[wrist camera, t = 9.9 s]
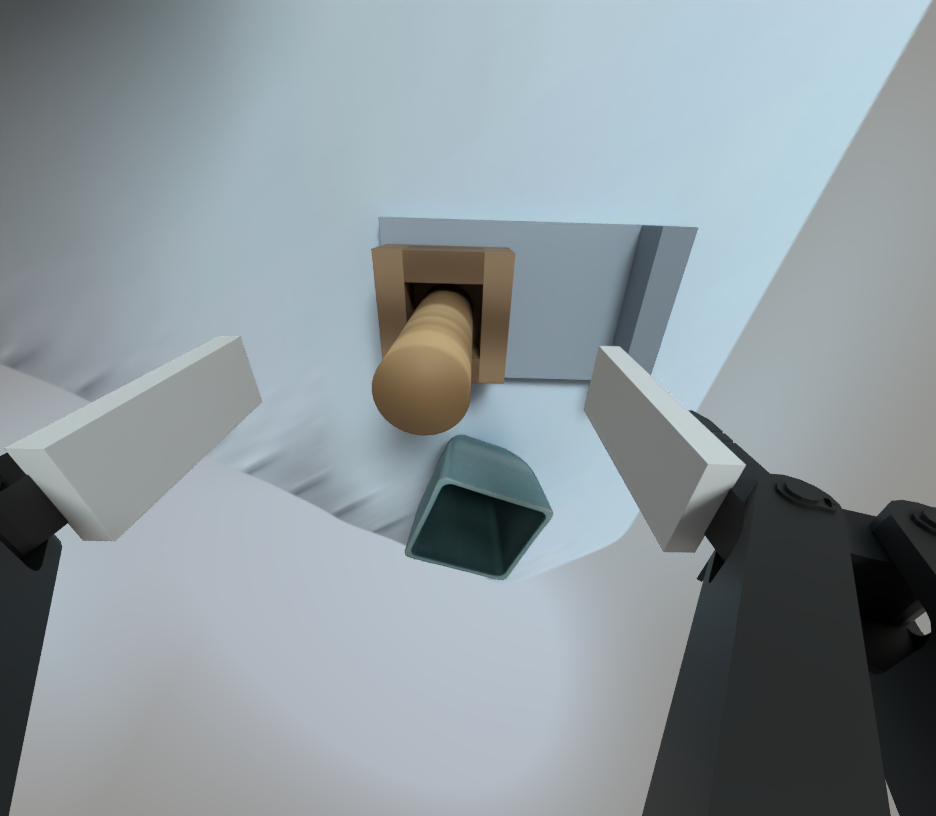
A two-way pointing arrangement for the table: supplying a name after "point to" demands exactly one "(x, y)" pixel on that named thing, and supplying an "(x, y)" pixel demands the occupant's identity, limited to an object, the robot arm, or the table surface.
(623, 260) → the board
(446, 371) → the dowel
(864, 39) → the table surface
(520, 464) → the flower pot
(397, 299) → the block
